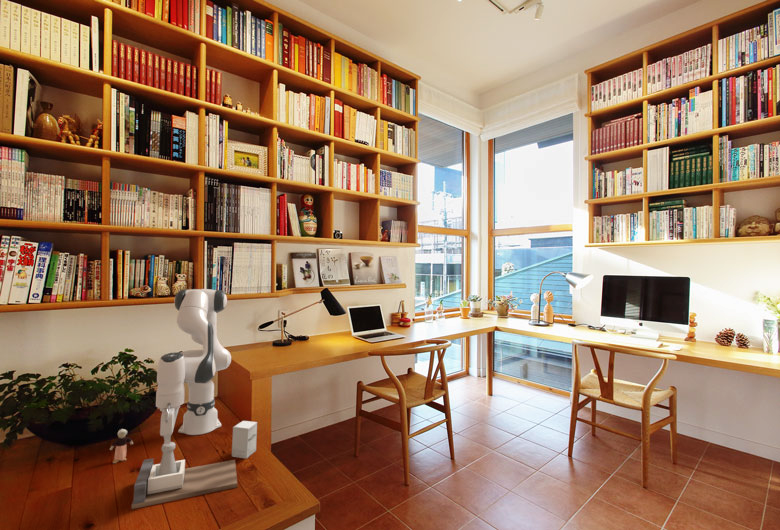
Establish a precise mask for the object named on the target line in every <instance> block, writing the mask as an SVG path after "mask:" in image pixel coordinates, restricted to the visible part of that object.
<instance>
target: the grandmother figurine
mask: <svg viewBox="0 0 780 530" xmlns="http://www.w3.org/2000/svg"><path fill="white" fill-rule="evenodd" d="M126 435H128V430H127V429H124V428H120V429H119V430H118V432H117V437H118V438H117V439H115V440H114V441H113V442H112V444H111V446H110V447H109V451H113V449H114V447H115V450H114V451H115V452H114V458H113V461H112V464H117V462H118V463H120V462H125V461H127V458H126V457H127V452H128V451H127V447H128V445H127V443H129V444H130V446H131V445H134V442H133V439H132V438H130V437H127V436H126ZM124 460H125V461H124Z"/></svg>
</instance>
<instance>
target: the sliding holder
mask: <svg viewBox="0 0 780 530" xmlns="http://www.w3.org/2000/svg"><path fill="white" fill-rule="evenodd" d="M160 464H161V463H157V464H156V463H155V464H153V466H152V469H151V472H150V475H149V478H148V492H147V495H148V494H153V493H158V492H163V491H168V490H173V489H178V488H182V487H183V480H184V474H185V469H186V459H181V460H179V459H178V460H175V464H176V469H177V472H176V473H173V474H167V475H162V476H158V473H159V468H160Z"/></svg>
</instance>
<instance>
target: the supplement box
mask: <svg viewBox="0 0 780 530" xmlns="http://www.w3.org/2000/svg"><path fill="white" fill-rule="evenodd" d="M257 431H258V422H257V421H250V420H242V421H241V422H238V423H237V424H236V425H234V426H232V444H231V457H234V458H240V459H248V458H249V457H250V456H252V455H253V454H254V453H255V452H256V451H257V437H258V436H257V435H258V432H257Z"/></svg>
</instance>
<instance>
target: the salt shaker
mask: <svg viewBox="0 0 780 530" xmlns="http://www.w3.org/2000/svg"><path fill="white" fill-rule="evenodd" d="M175 449H176V443H175V442H174V441H170V444H166V445H165V444H164V443H163V444H162V445H161V452H162V456H161V459H160V460H161V461H160V463H159V464H160V468H159V473H158V476H162V475H167V474H173V473H176V472H177V469H176V464H175V461H176V458H175V453H174V450H175Z"/></svg>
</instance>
